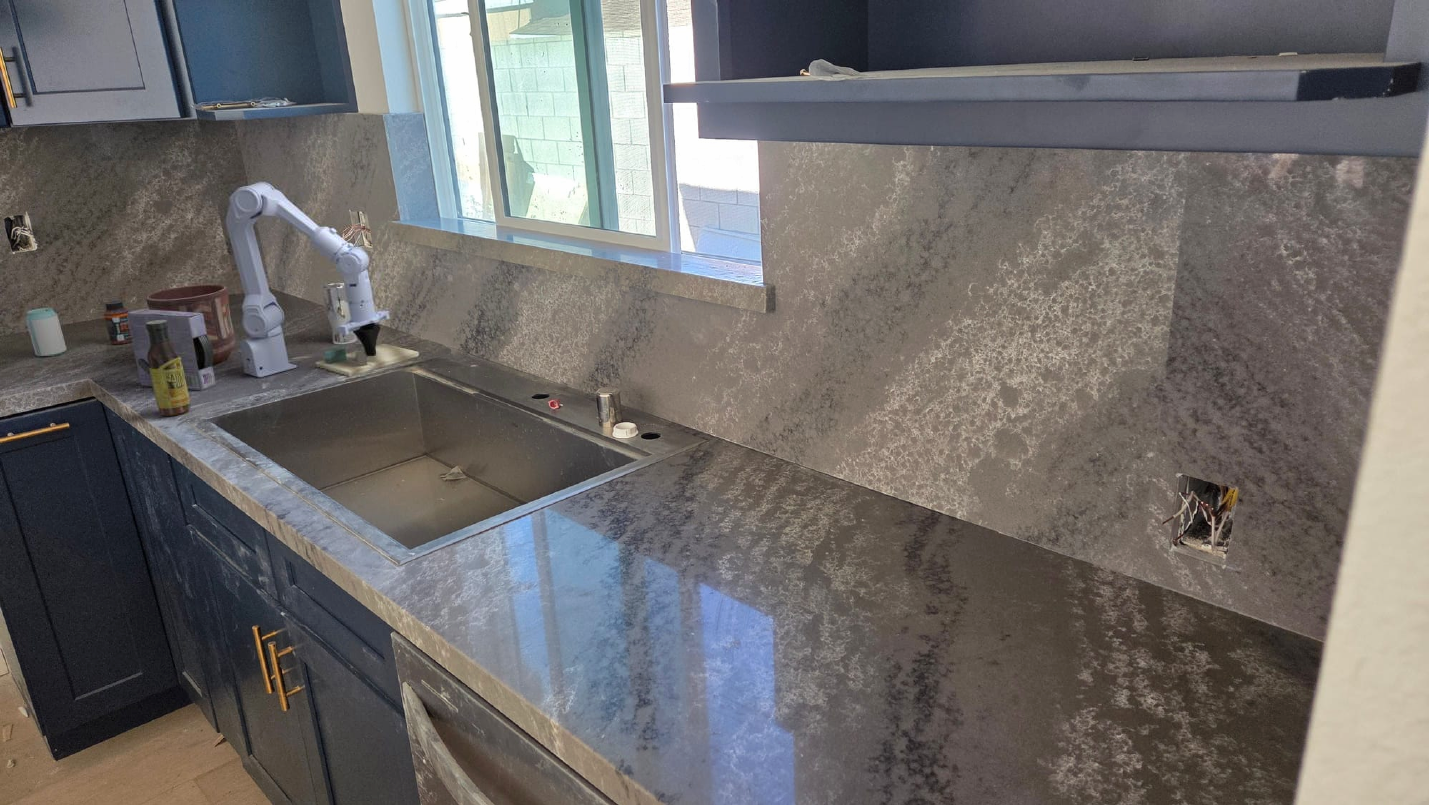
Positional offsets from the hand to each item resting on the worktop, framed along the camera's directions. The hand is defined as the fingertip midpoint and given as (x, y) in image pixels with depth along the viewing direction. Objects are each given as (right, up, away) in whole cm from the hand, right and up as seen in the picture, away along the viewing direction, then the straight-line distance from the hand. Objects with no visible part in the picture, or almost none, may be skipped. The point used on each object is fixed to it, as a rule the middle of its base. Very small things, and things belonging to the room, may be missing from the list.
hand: (371, 355), depth 240 cm
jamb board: (-2, -1, +4) cm, 5 cm away
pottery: (-46, -1, +11) cm, 48 cm away
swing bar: (-2, -1, +1) cm, 3 cm away
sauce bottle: (-33, -13, -26) cm, 44 cm away
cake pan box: (-41, -8, -8) cm, 43 cm away
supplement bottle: (-80, +5, +34) cm, 87 cm away
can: (-94, +1, +26) cm, 97 cm away
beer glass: (-15, +5, +23) cm, 28 cm away
